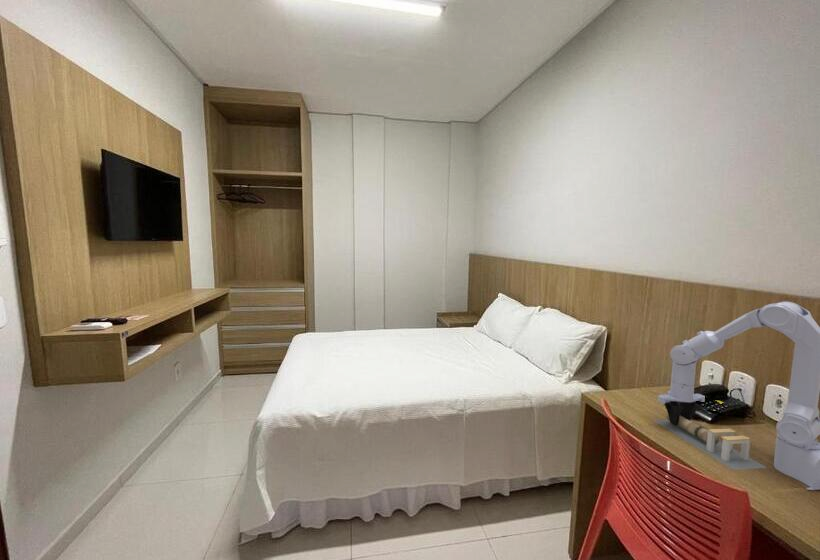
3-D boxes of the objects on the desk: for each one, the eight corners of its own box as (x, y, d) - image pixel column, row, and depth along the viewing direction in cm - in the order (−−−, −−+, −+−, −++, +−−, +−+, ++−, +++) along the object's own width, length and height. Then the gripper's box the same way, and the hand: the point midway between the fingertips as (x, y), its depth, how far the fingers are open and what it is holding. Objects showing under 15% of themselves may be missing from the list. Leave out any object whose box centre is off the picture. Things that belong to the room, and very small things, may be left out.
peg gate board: (767, 470, 86) (770, 445, 85) (733, 472, 85) (735, 447, 84) (679, 421, 110) (681, 402, 110) (652, 422, 109) (653, 402, 109)
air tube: (718, 445, 95) (720, 434, 94) (708, 445, 94) (709, 434, 94) (675, 420, 109) (675, 410, 108) (665, 421, 108) (666, 411, 108)
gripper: (691, 377, 109) (687, 416, 110) (650, 378, 107) (647, 418, 109) (713, 385, 102) (709, 427, 103) (670, 386, 100) (666, 429, 102)
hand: (679, 423), depth 105 cm, fingers closed on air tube, 3 cm apart
